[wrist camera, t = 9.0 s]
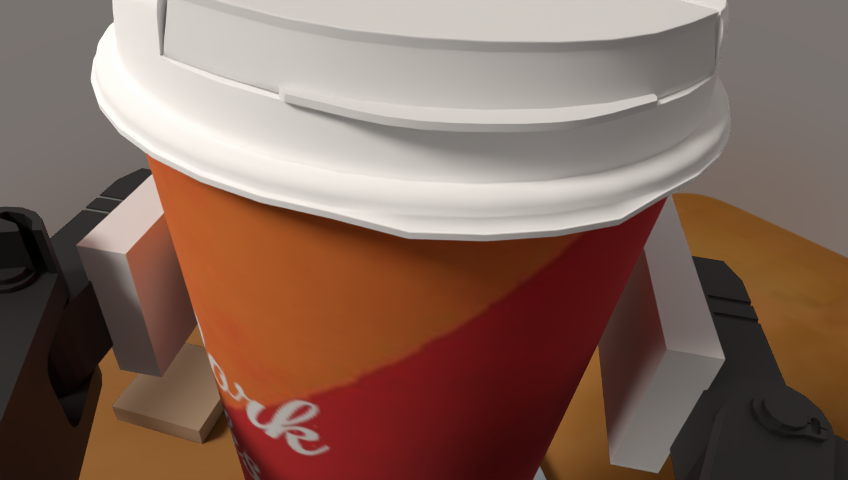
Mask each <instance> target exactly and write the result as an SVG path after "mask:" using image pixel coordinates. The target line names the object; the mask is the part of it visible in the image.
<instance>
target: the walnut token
mask: <svg viewBox="0 0 848 480" xmlns="http://www.w3.org/2000/svg"><path fill="white" fill-rule="evenodd" d="M112 407H113V410H114V412H115V415H116V417H117V420H121V421H124V422H128V423H131V424H135V425H138V426H142V427H145V428H148V429H152V430H155V431H159V432H162V433H166V434H169V435H173V436H176V437H179V438H183V439H186V440H190V441H193V442H197V443H200V444H203V442H204V441H205V439H206V438H207V436H208V434H209V433H210V431H211V430H212V428H213V427H214V425H215V424H216V422H217V420H218V419H219V417H220V416H221V414H222V413H223V411H224V408H223V405H222V402H221V398H220V395H219V392H218V388H217V385H216V382H215V379H214V375H213V372H212V369H211V365H210V362H209V359H208V356H207V352H206V349H205V348H203V347H199V346H195V345H192V344H188V343H184V345H183V346H182V348H181V349H180V351H179V352H178V354H177V355H176V357H175V358H174V360H173V361H172V363H171V364H170V366H169V367H168V369H167V370H166V372H165V373H164V375H163V376H162V378H161V377H156V376H151V375H146V374H140V373H139V374H138V375H137V377H136V378H135V379H134V380H133V381H132V383H131V384H130V385H129V386H128V387H127V389H126V390H125V391H124V392H123V393H122V395H121V396H120V397H119V398H118V399H117V401H116V402H115V403H114V404H113V405H112Z"/></svg>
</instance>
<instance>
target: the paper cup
mask: <svg viewBox="0 0 848 480" xmlns="http://www.w3.org/2000/svg"><path fill="white" fill-rule="evenodd" d="M112 2H113V15H114V22H113V23H112V24H111V25H110V26H109V27H108V29H107V30H106V32H105V33H104V35H103V37H102V38H101V40H100V41H99V43H98V47H97V53H96V56H95V57H94V61H93V67H92V75H91V82H92V86H93V89H94V92H95V95H96V98H97V101H98V104H99V107H100V109H101V111H102V112H103V113H104V114H105V116H106V117H107V118H108V119H109V121H110V122H111V123H112V124H113V126H114V127H115V128H116V129H117V131H118V132H119V133H120V134H121V135H123V136H124V137H125V138H127V139H128V140H129V141H131V142H132V143H133V144H135V145H136V146H137V147H139V148H140V149H141V150H143V151H144V152H145V153H146V155H147V158H148V162H149V165H150V168H151V172H152V175H153V178H154V181H155V185H156V188H157V191H158V195H159V198H160V201H161V204H162V208H163V211H164V214H165V218H166V221H167V224H168V227H169V231H170V234H171V237H172V240H173V244H174V247H175V250H176V254H177V257H178V260H179V263H180V267H181V270H182V273H183V277H184V280H185V283H186V286H187V290H188V293H189V296H190V300H191V303H192V306H193V309H194V313H195V316H196V319H197V323H198V326H199V329H200V332H201V336H202V339H203V342H204V346H205V349H206V352H207V356H208V359H209V362H210V365H211V369H212V372H213V375H214V379H215V382H216V385H217V388H218V392H219V395H220V398H221V402H222V405H223V408H224V412H225V415H226V418H227V421H228V425H229V428H230V431H231V434H232V438H233V441H234V444H235V447H236V451H237V454H238V457H239V460H240V463H241V467H242V470H243V473H244V476H245V480H533V479H534V477H535V475H536V473H537V471H538V469H539V466H540V464H541V462H542V460H543V458H544V456H545V454H546V452H547V450H548V448H549V446H550V444H551V441H552V439H553V437H554V435H555V433H556V431H557V429H558V427H559V425H560V423H561V420H562V418H563V416H564V414H565V412H566V410H567V408H568V406H569V404H570V402H571V399H572V397H573V395H574V393H575V391H576V389H577V387H578V385H579V383H580V380H581V378H582V376H583V374H584V372H585V370H586V368H587V366H588V364H589V362H590V359H591V357H592V355H593V353H594V351H595V349H596V347H597V345H598V343H599V340H600V338H601V336H602V334H603V332H604V330H605V328H606V326H607V324H608V322H609V319H610V317H611V315H612V313H613V311H614V309H615V307H616V305H617V303H618V301H619V298H620V296H621V294H622V292H623V290H624V288H625V286H626V284H627V282H628V280H629V277H630V275H631V273H632V271H633V269H634V267H635V265H636V263H637V261H638V259H639V256H640V254H641V252H642V250H643V248H644V246H645V244H646V242H647V240H648V238H649V235H650V233H651V231H652V229H653V227H654V225H655V223H656V221H657V219H658V217H659V215H660V212H661V210H662V208H663V206H664V204H665V202H666V200H667V198H668V196H669V195H671V194H673V193H675V192H676V191H678V190H680V189H682V188H684V187H686V186H688V185H689V184H691V183H693V182H695V181H696V180H697V179H698V178H699V177H700V176H702V175H703V174H704V173H705V172H706V171H707V170H708V169H709V168H710V167H711V166H712V165H714V163H716V162H717V160H718V159H719V157H720V155H721V152H722V151H723V148H724V147H725V145H726V143H727V140H728V138H729V136H730V122H731V114H730V111H729V98H728V96H727V94H726V91H725V88H724V86H723V83H722V81H721V80H720V78H719V77H718V76H717V75H718V71H719V67H720V62H721V58H722V54H723V49H724V45H725V40H726V36H727V32H728V19H729V6H728V4H727V2H726V0H112Z"/></svg>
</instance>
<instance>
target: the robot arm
mask: <svg viewBox="0 0 848 480" xmlns="http://www.w3.org/2000/svg"><path fill="white" fill-rule="evenodd" d="M750 304H751V301H750V298H749V296H748V293H747V291H746V289H745V286H744V284H743V281H742V280H741V279H740V278H739V277H738V276H737V275H736V274H735V273H734V272H733V271H732V270H731V269H730V268H729V267H728V266H727V265H726V264H725V262H724V261H719V260H713V259H707V258H701V257H694V256H691V253H690V250H689V247H688V244H687V241H686V238H685V235H684V232H683V229H682V226H681V223H680V220H679V217H678V214H677V211H676V208H675V204H674V201H673V198H672V195H669V196H668V198H667V200H666V202H665V204H664V206H663V208H662V210H661V212H660V215H659V217H658V219H657V221H656V223H655V225H654V227H653V229H652V231H651V233H650V235H649V238H648V240H647V242H646V244H645V246H644V248H643V250H642V252H641V254H640V256H639V259H638V261H637V263H636V265H635V267H634V269H633V271H632V273H631V275H630V277H629V280H628V282H627V284H626V286H625V288H624V290H623V292H622V294H621V296H620V298H619V301H618V303H617V305H616V307H615V309H614V311H613V313H612V315H611V317H610V319H609V322H608V324H607V326H606V328H605V330H604V332H603V334H602V336H601V338H600V340H599V343H598V347H599V357H600V367H601V377H602V386H603V396H604V406H605V416H606V426H607V436H608V446H609V456H610V464H612V465H617V466H622V467H628V468H633V469H638V470H643V471H648V472H654V473H659V471H660V469H661V468H662V466H663V464H664V463H665V461H666V459H667V457H668V456H669V454H670V453H671V458H672V463H673V469H674V474H675V480H848V441H846V440H844V439H842V438H840V437H838V436H836V435H834V434H833V430H832V426H831V424H830V423H829V422H828V420H827V419H826V417H825V416H824V414H823V413H822V411H821V410H820V409H819V408H818V407H817V406H816V405H814V404H813V403H812V402H811V401H810V400H809V399H808V398H806V397H805V396H804V395H802V394H801V393H799V392H797V391H795V390H793V389H792V388H790V387H788V386H786V384H785V382H784V379H783V377H782V375H781V372H780V370H779V368H778V365H777V363H776V360H775V358H774V356H773V353H772V351H771V348H770V346H769V344H768V341H767V339H766V336H765V334H764V332H763V329H762V327H761V325H760V324H759V323H758V317H757V315H756V313H755V310H754V308H753V306H751V305H750ZM197 324H198V323H197V319H196V316H195V313H194V309H193V306H192V303H191V300H190V296H189V293H188V290H187V286H186V283H185V280H184V277H183V273H182V270H181V267H180V263H179V260H178V257H177V254H176V250H175V247H174V244H173V240H172V237H171V234H170V231H169V227H168V224H167V221H166V218H165V214H164V211H163V208H162V204H161V201H160V198H159V195H158V191H157V188H156V185H155V181H154V178H153V175H152V172H151V170H148V169H143V168H142V169H140V170H137V171H136V172H133V173H131V174H129V175H127V176H124V177H122V178H120V179H118V180H116V181H115V182H114V183H113V184H112V185H111V186H110V187H108V188H107V189H106V190H105V191H104V192H103V193H102V194H100V198H96V199H95V200H94V201H92V202H91V203H90V204H89V205H88V206H87V207H86V210H85V211H84V210H83V211H81V212H80V213H79V214H78V215H77V216H75V217H74V218H73V219H72V220H71V221H70V222H68V223H67V224H66V225H65V226H64V227H63V228H62V229H60V230H59V231H58V232H57V233H56V234H55V235H54V236H52V237H51V238H49V236H48V233H47V230H46V228H45V225H44V223H43V220H42V219H41V218H40V216H39V215H38V214H37V213H36V212H34V211H31V210H28V209H25V208H20V207H0V480H79V476H80V472H81V468H82V464H83V460H84V456H85V452H86V448H87V444H88V440H89V435H90V431H91V427H92V423H93V419H94V415H95V411H96V407H97V403H98V399H99V395H100V391H101V387H102V373H101V371H100V368H99V365H98V364H99V362H100V361H101V360H102V359H103V357H104V356H105V355H106V354H107V352H108V351H109V350H110V349H111V347H112V348H113V351H114V354H115V357H116V360H117V363H118V365H119V368H120V370H125V371H130V372H135V373H140V374H146V375H151V376H156V377H161V378H162V376H163V375H164V373H165V372H166V370H167V369H168V367H169V366H170V364H171V363H172V361H173V360H174V358H175V357H176V355H177V354H178V352H179V351H180V349H181V348H182V346H183V345H184V343H185V342H186V340H187V339H188V337H189V336H190V334H191V333H192V331H193V330H194V328H195V327H196V325H197Z"/></svg>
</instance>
